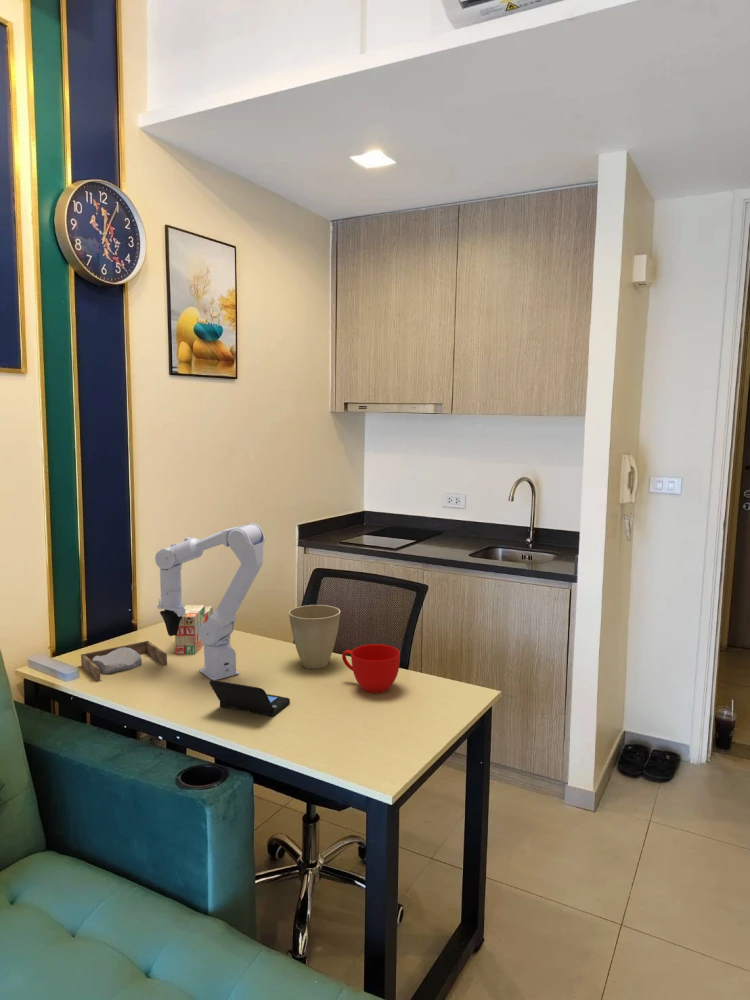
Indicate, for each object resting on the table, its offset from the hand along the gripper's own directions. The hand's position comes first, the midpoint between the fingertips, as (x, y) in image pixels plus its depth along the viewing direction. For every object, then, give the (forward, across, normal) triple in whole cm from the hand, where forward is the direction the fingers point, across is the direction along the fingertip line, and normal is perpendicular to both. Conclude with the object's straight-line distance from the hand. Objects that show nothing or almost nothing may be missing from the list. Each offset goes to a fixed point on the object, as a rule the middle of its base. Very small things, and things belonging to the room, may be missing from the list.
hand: (172, 634), depth 197 cm
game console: (+10, +39, +4) cm, 41 cm away
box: (+9, -9, -11) cm, 17 cm away
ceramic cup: (+10, +47, +35) cm, 59 cm away
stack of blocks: (+10, -15, +14) cm, 23 cm away
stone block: (+10, -10, -12) cm, 19 cm away
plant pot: (+10, +24, +33) cm, 42 cm away
